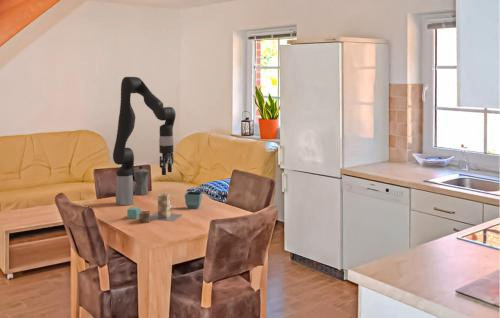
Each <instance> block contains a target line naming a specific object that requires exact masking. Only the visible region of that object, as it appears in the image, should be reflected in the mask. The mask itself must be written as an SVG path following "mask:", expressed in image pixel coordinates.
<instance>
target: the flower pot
mask: <svg viewBox="0 0 500 318" xmlns="http://www.w3.org/2000/svg"><path fill="white" fill-rule="evenodd" d="M184 199H185V205H186V207H187V209H188V210H198V209H200V206H201V204H202V201H203V200H202V199H203V192H202V191H187V192H185V194H184Z"/></svg>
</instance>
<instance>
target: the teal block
mask: <svg viewBox="0 0 500 318" xmlns="http://www.w3.org/2000/svg"><path fill="white" fill-rule="evenodd" d="M126 211H127V219H135V220H137V219H139V213H140V211H141V207H135V206H134V207H129V208H127V209H126Z"/></svg>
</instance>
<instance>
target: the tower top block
mask: <svg viewBox="0 0 500 318" xmlns="http://www.w3.org/2000/svg"><path fill="white" fill-rule="evenodd" d="M170 195H171V194H170V193H159V194H158V195H157V208H158V207H168V206H169V205H170V206H171V201H170V200H171V199H170Z"/></svg>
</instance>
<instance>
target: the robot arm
mask: <svg viewBox="0 0 500 318" xmlns="http://www.w3.org/2000/svg"><path fill="white" fill-rule="evenodd" d="M132 94H138V95H140V96H142V97H143V102H144V104H145V106H146V107H147V108H148V109H150V110H151V111H152V113H153V115H154V116H155V118H156V119H157V120H158V121H164V123H163V124H161V125H160V126H159V139H158V143H159V146H158V147H159V153H160V154H161V156H159V168H161V175H162V176H166V175H167V173H172V170H173V169H172V168H173V165H174V135H173V134H174V133H173V129H174V125H175V120H176V111H175V108H174V107H172V106H165V107H164V103H163V102H162V101H161V99H160V98H158V97H157V96H156V95H155V94H154V93H152V91H151V90H150V89H149V88H148V86H147V85H146V83H145V82H144V81H143V80H142V79H141V78H140V77H137V76H124V77H123V78H122V79H121V84H120V105H119V115H118V122H117V131H116V137H115V142H114V147H113V152H112V160H113V162H114V164H116V165H121V166H120V167H119V168H118V169H117V170H116V172H115V173H116V175H115V176H116V188H115V205H119V206H131V205H134V181H133V170H134V169H135V167H134V166H135V155H134V151H133V149H132V148H130V147H126V146H127V142H128V140H129V138H130V136H131V135H132V133H133V131H134V130H135V123H136V115H135V111H134V109H133V106H132V105H131V95H132Z"/></svg>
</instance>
